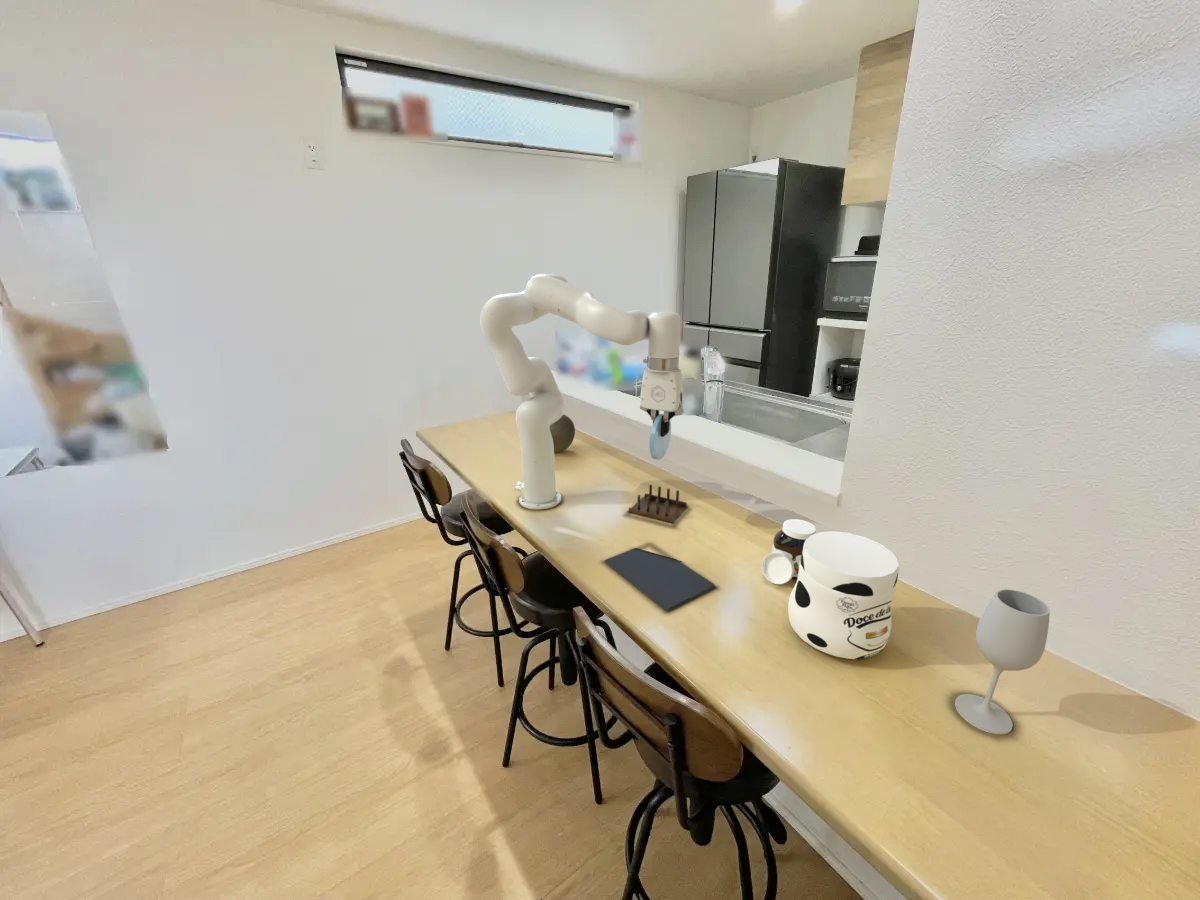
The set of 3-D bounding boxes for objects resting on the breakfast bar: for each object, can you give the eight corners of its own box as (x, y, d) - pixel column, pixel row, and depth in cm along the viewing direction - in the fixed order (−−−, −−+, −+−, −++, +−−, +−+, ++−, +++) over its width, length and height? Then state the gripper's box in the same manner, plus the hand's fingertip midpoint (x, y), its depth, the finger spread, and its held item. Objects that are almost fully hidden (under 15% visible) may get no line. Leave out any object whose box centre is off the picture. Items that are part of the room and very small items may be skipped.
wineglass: (941, 696, 80) (975, 587, 72) (985, 692, 80) (1023, 584, 73) (979, 737, 73) (1020, 621, 65) (1027, 733, 73) (1073, 618, 66)
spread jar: (815, 566, 114) (822, 521, 110) (818, 594, 104) (826, 547, 100) (761, 557, 118) (766, 513, 114) (759, 584, 108) (765, 537, 104)
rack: (626, 515, 139) (626, 496, 137) (644, 498, 149) (644, 480, 146) (673, 527, 132) (674, 507, 130) (688, 509, 142) (689, 490, 140)
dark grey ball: (533, 449, 190) (531, 411, 185) (567, 443, 196) (566, 407, 191) (545, 461, 178) (543, 421, 173) (581, 455, 184) (580, 416, 179)
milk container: (882, 684, 82) (904, 594, 76) (775, 645, 91) (787, 561, 84) (888, 624, 96) (908, 543, 89) (795, 595, 104) (807, 520, 98)
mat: (604, 562, 117) (604, 559, 117) (650, 544, 124) (650, 542, 124) (666, 611, 100) (666, 609, 100) (715, 587, 107) (715, 585, 107)
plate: (648, 465, 125) (649, 420, 121) (666, 450, 135) (667, 408, 131) (653, 466, 125) (654, 421, 120) (670, 451, 135) (672, 409, 130)
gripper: (628, 363, 122) (627, 434, 128) (688, 369, 115) (684, 443, 121) (640, 359, 128) (639, 426, 134) (698, 364, 121) (694, 435, 127)
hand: (660, 434), depth 128 cm, fingers closed on plate, 1 cm apart
